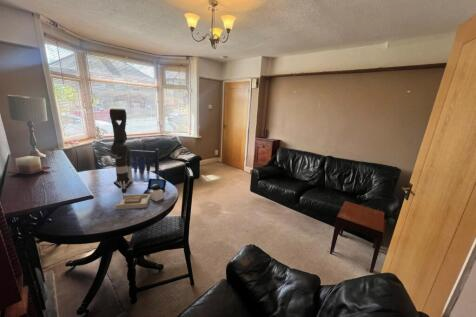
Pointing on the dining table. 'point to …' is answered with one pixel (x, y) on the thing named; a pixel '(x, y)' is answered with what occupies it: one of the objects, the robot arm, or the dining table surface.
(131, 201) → the slab
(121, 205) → the tray
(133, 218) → the dining table surface
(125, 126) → the robot arm
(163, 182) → the handheld game console
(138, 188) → the dining table surface
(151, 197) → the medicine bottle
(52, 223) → the dining table surface
